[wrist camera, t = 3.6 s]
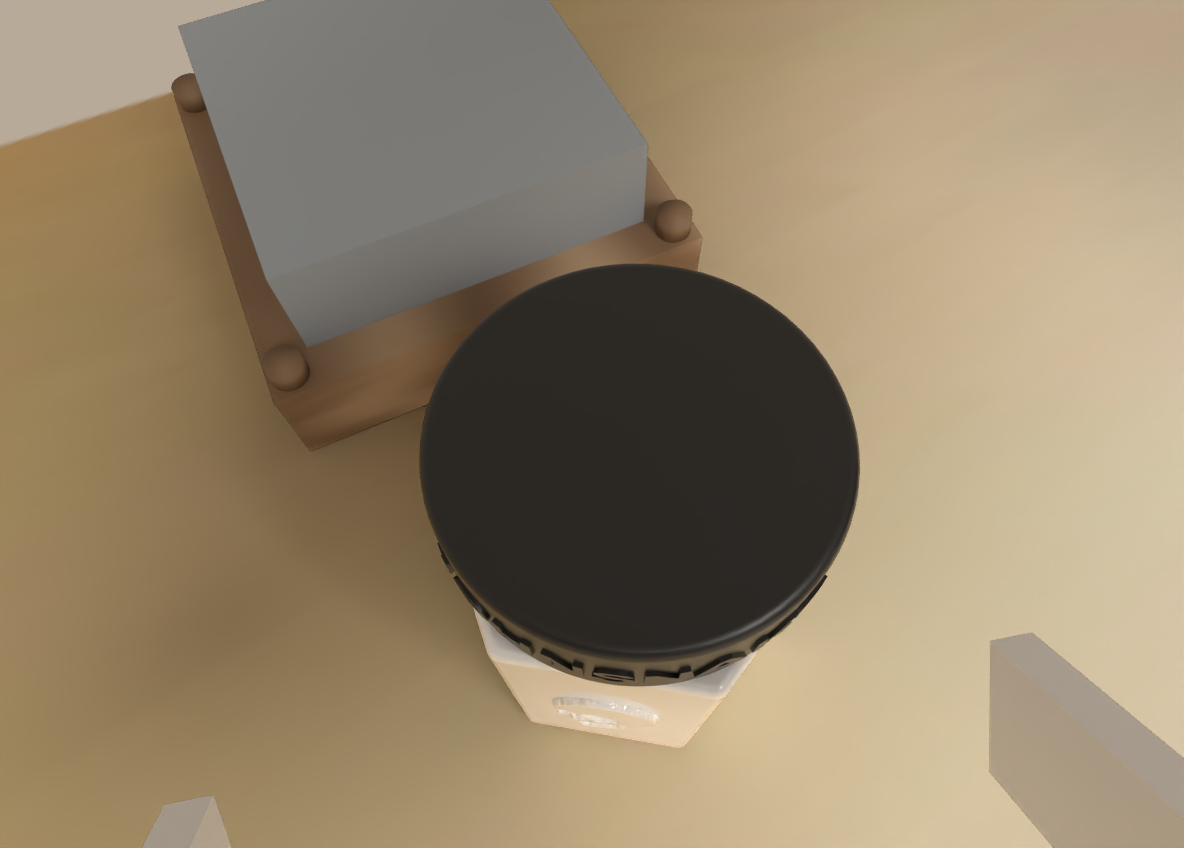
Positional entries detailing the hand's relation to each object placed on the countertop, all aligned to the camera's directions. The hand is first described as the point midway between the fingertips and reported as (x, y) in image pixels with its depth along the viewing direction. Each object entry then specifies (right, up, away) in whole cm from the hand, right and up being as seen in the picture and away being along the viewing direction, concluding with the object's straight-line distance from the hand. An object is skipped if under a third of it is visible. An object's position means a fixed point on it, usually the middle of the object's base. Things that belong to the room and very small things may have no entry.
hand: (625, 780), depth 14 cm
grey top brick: (-7, +16, +16) cm, 23 cm away
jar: (0, 0, +12) cm, 12 cm away
